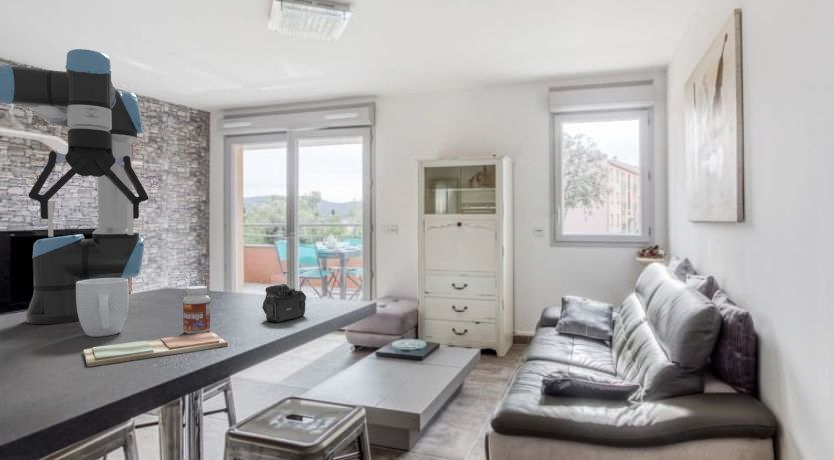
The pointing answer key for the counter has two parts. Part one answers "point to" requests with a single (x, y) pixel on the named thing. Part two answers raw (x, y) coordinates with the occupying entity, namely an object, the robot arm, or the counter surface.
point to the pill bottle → (196, 310)
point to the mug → (102, 305)
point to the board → (151, 348)
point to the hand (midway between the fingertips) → (92, 235)
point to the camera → (283, 303)
